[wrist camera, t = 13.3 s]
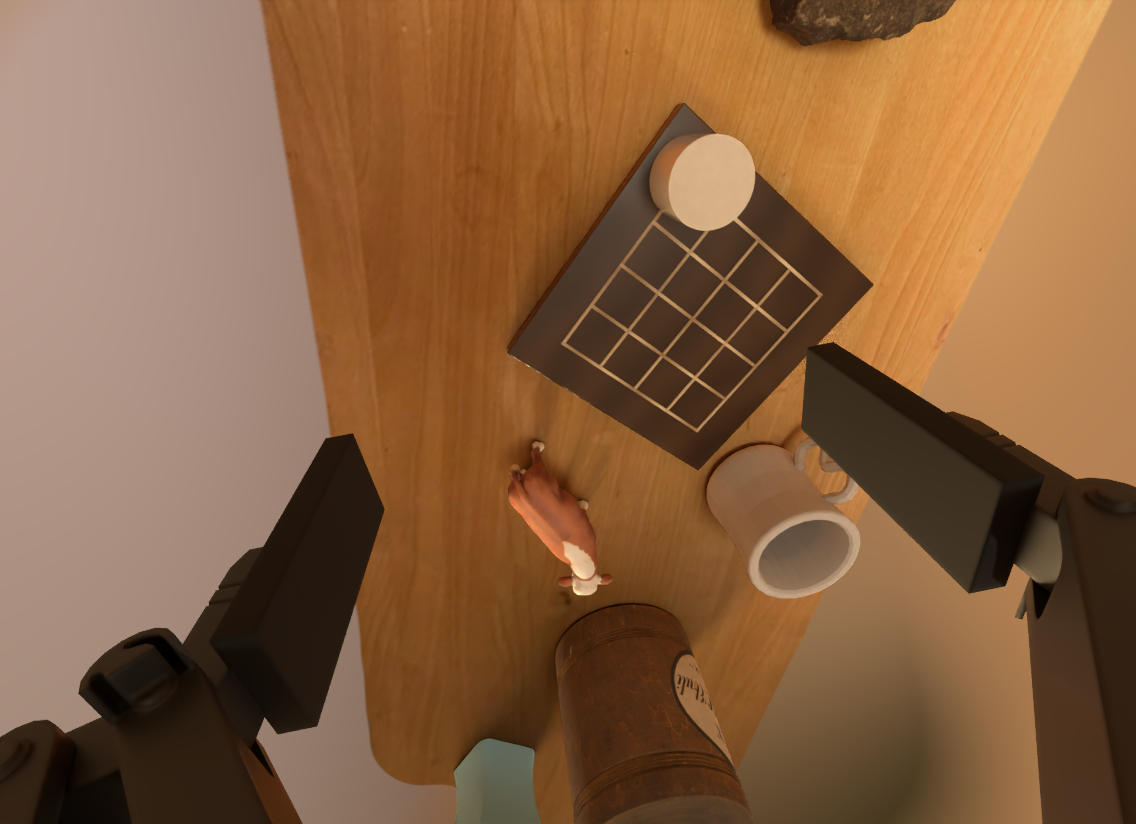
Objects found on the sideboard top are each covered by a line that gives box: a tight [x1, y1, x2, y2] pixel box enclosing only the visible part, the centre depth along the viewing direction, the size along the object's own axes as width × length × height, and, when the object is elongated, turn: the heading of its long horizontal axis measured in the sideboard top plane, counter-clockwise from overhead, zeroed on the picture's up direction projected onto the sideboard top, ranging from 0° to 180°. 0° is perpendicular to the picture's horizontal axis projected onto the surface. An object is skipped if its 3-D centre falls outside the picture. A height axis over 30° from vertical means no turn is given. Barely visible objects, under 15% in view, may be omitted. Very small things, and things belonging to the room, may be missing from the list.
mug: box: [707, 437, 860, 598], centre depth 44 cm, size 12×9×10 cm
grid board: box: [507, 103, 874, 470], centre depth 39 cm, size 20×20×1 cm
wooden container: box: [555, 604, 753, 824], centre depth 48 cm, size 15×15×22 cm
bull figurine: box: [508, 441, 613, 595], centre depth 43 cm, size 4×13×8 cm, turn 26°
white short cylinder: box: [649, 134, 755, 231], centre depth 32 cm, size 5×5×4 cm
